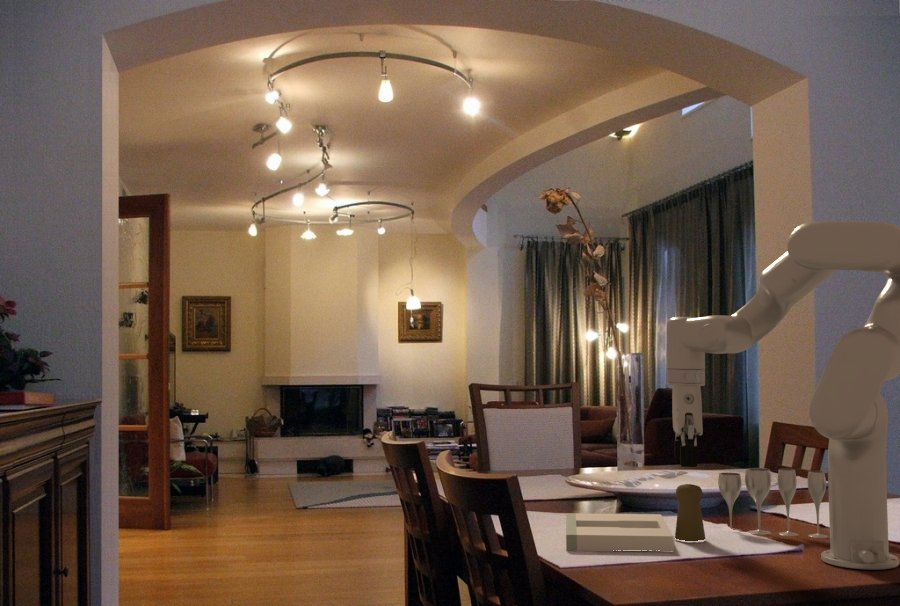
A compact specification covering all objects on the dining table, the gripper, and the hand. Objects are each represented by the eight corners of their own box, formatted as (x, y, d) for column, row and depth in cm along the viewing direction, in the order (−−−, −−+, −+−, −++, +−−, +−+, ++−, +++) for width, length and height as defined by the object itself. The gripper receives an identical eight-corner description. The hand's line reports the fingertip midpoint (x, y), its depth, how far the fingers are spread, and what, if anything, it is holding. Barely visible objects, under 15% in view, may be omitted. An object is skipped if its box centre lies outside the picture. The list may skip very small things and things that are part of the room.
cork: (706, 543, 183) (705, 487, 184) (675, 542, 184) (673, 486, 185) (704, 537, 189) (703, 482, 190) (674, 536, 190) (672, 482, 191)
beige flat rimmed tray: (673, 552, 175) (673, 536, 175) (566, 550, 178) (566, 534, 178) (661, 528, 199) (660, 514, 199) (566, 527, 201) (566, 513, 202)
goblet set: (717, 532, 195) (716, 468, 195) (721, 527, 200) (719, 465, 201) (864, 542, 184) (862, 474, 184) (864, 536, 189) (862, 470, 190)
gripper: (711, 380, 179) (711, 469, 179) (698, 376, 197) (698, 458, 196) (671, 379, 180) (671, 468, 180) (662, 376, 197) (662, 457, 197)
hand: (685, 463), depth 188 cm, fingers open, 9 cm apart
